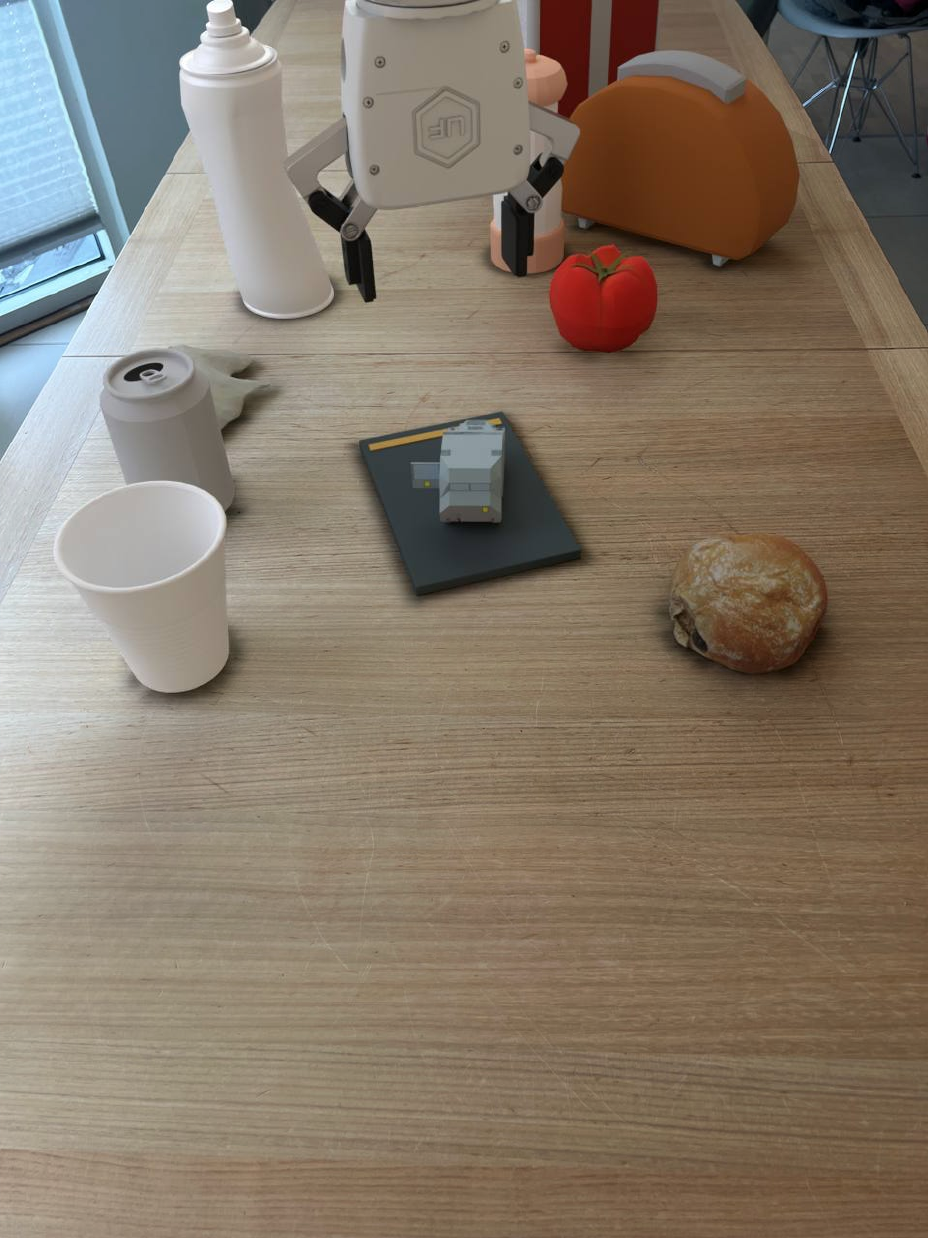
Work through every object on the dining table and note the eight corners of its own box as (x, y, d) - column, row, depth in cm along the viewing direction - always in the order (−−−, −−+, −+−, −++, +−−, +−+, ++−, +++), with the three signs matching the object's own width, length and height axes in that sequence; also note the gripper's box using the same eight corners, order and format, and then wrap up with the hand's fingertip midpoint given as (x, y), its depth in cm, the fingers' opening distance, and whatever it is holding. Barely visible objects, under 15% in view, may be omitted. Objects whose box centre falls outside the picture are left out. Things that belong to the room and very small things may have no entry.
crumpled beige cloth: (136, 353, 95) (96, 459, 84) (131, 319, 92) (90, 424, 82) (277, 366, 96) (255, 472, 85) (276, 332, 93) (253, 437, 83)
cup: (75, 701, 67) (17, 573, 60) (152, 596, 74) (109, 468, 66) (217, 734, 65) (175, 605, 57) (283, 622, 72) (254, 493, 64)
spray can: (204, 317, 101) (136, 27, 83) (234, 264, 108) (177, -13, 91) (324, 320, 100) (281, 26, 82) (346, 265, 107) (310, -15, 90)
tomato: (668, 329, 96) (677, 250, 91) (621, 376, 91) (627, 295, 86) (578, 303, 100) (581, 226, 95) (528, 346, 95) (528, 267, 90)
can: (205, 464, 84) (169, 328, 76) (256, 508, 80) (224, 369, 72) (120, 505, 81) (72, 368, 73) (168, 553, 77) (124, 414, 69)
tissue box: (452, 141, 129) (439, -128, 110) (568, 106, 135) (576, -154, 116) (532, 186, 119) (534, -101, 100) (654, 146, 125) (678, -131, 106)
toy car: (505, 451, 83) (504, 398, 79) (501, 535, 76) (500, 481, 72) (423, 451, 83) (418, 398, 80) (411, 535, 76) (405, 480, 73)
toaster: (791, 242, 107) (824, 63, 95) (750, 279, 102) (780, 95, 90) (591, 190, 117) (599, 23, 106) (546, 221, 112) (548, 49, 101)
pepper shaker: (574, 246, 108) (581, 40, 95) (547, 279, 104) (551, 67, 90) (508, 235, 111) (506, 32, 97) (479, 266, 106) (472, 58, 92)
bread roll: (649, 639, 74) (621, 586, 67) (745, 532, 75) (727, 469, 68) (763, 721, 69) (745, 673, 62) (866, 604, 69) (859, 544, 63)
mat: (416, 596, 73) (415, 586, 72) (359, 448, 85) (358, 438, 85) (581, 558, 75) (581, 548, 74) (502, 418, 87) (502, 409, 87)
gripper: (271, 5, 51) (315, 331, 63) (611, -33, 54) (592, 285, 66) (248, -33, 56) (293, 275, 68) (560, -66, 59) (550, 234, 71)
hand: (440, 279), depth 67 cm, fingers open, 9 cm apart
